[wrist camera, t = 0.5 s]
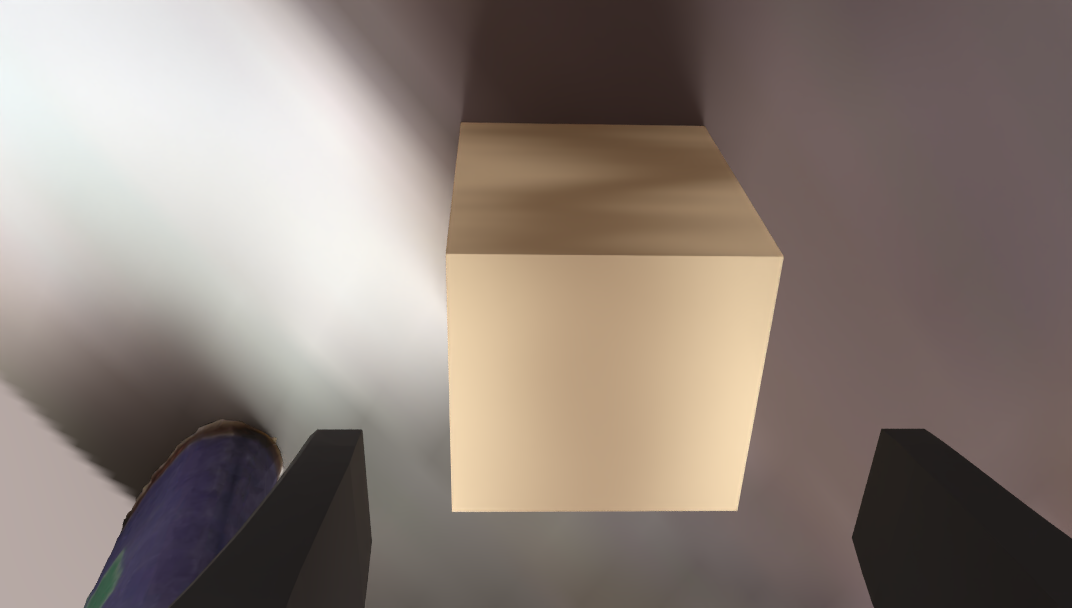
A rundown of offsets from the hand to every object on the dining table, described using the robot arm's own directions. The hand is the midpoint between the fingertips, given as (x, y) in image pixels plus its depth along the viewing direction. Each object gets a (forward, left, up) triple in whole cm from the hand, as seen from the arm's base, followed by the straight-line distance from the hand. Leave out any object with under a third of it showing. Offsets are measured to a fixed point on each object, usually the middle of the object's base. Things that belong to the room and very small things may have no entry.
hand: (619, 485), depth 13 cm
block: (0, 0, -8) cm, 8 cm away
